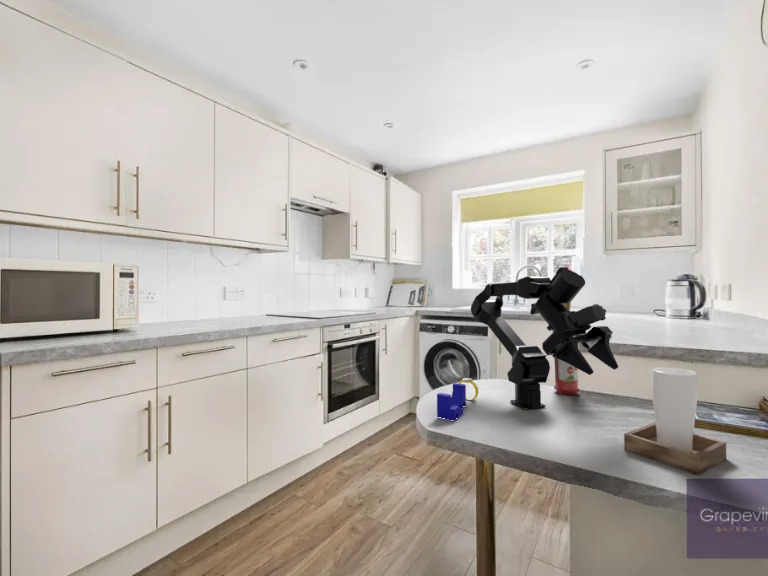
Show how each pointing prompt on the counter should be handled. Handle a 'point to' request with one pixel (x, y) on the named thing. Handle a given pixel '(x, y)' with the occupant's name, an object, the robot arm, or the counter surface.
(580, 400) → the counter surface
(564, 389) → the liquor
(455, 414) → the blue u-shaped holder
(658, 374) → the drinking glass
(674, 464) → the walnut box
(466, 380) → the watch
